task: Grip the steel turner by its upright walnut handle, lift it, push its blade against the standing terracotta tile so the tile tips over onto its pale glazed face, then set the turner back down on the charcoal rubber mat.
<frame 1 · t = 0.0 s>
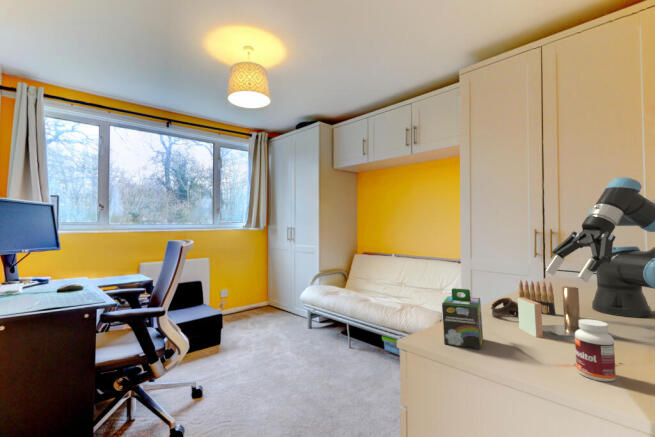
hand: (564, 276, 96), 15 cm above the cabinet, tool tilted 35°, fingers open, 13 cm apart
turner: (572, 331, 87), point 1 cm above the cabinet, touching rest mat
ammunition clip: (536, 315, 106), on the cabinet
tile: (530, 335, 87), on the cabinet
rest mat: (572, 334, 87), on the cabinet
pill bottle: (595, 376, 63), on the cabinet
brown sandal: (509, 319, 103), on the cabinet
chalk box: (463, 342, 83), on the cabinet
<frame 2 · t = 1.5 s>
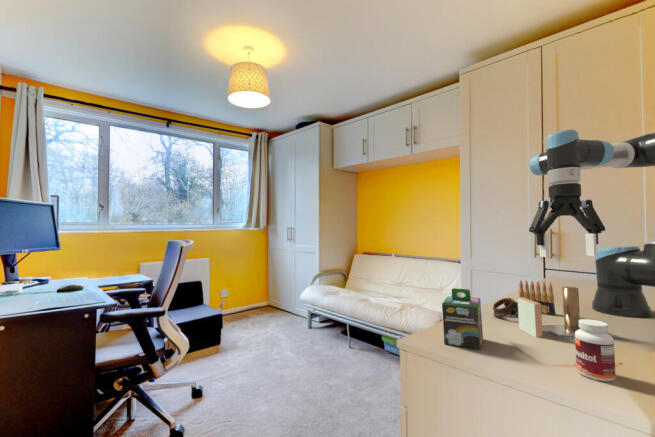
hand: (567, 256, 88), 22 cm above the cabinet, tool pointing down, fingers open, 13 cm apart
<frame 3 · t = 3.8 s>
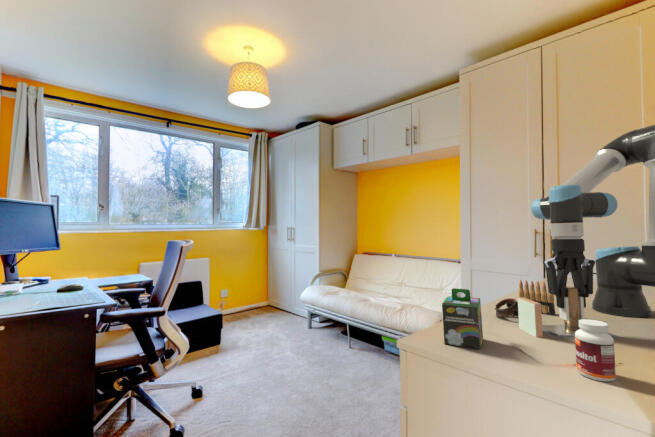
hand: (571, 318, 87), 4 cm above the cabinet, tool pointing down, fingers closed on turner, 4 cm apart
turner: (572, 331, 87), point 1 cm above the cabinet, touching gripper, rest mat
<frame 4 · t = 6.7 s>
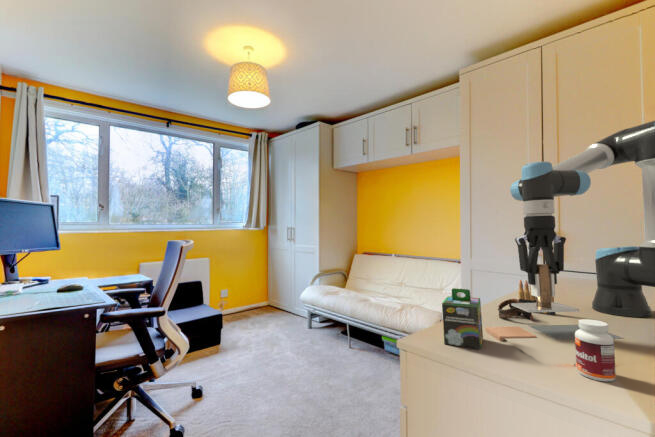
hand: (543, 295, 87), 11 cm above the cabinet, tool pointing down, fingers closed on turner, 4 cm apart
turner: (543, 308, 87), point 8 cm above the cabinet, touching gripper
tile: (526, 333, 87), on the cabinet, tilted 90°
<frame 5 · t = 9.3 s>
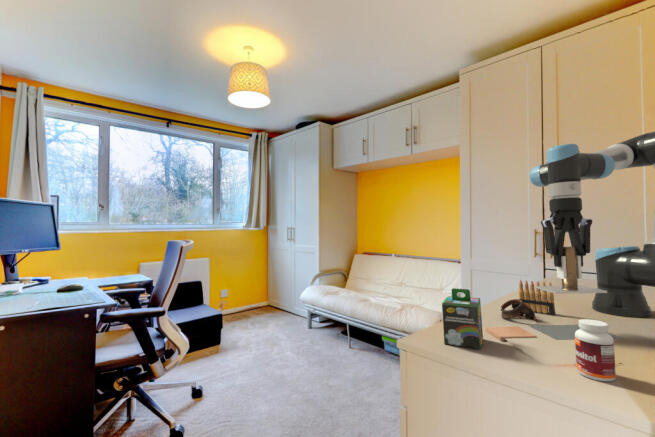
hand: (569, 278, 87), 16 cm above the cabinet, tool pointing down, fingers closed on turner, 4 cm apart
turner: (570, 290, 87), point 13 cm above the cabinet, touching gripper
when the fingers open (6 cm above the cabinet, at t = 11.2 s): turner drops 2 cm, resting on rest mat.
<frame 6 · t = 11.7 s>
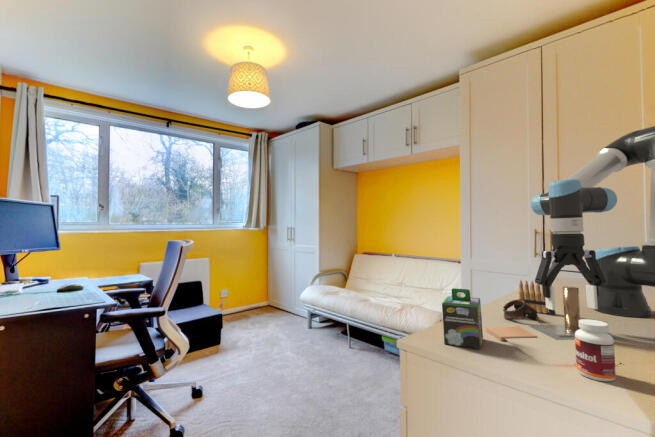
hand: (571, 308, 87), 7 cm above the cabinet, tool pointing down, fingers open, 11 cm apart
turner: (572, 331, 87), point 1 cm above the cabinet, touching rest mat
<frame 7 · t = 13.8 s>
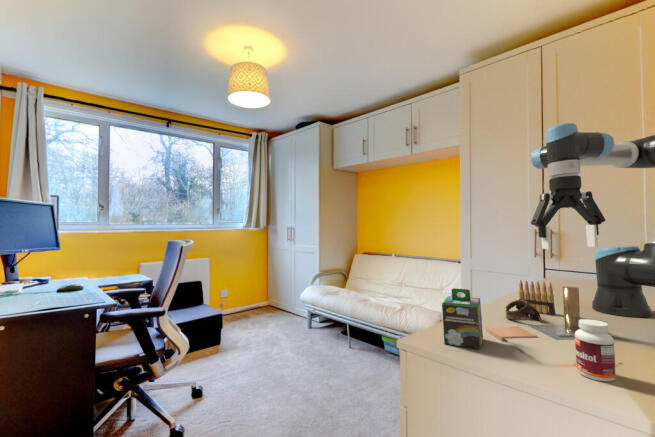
hand: (569, 247, 89), 25 cm above the cabinet, tool pointing down, fingers open, 13 cm apart
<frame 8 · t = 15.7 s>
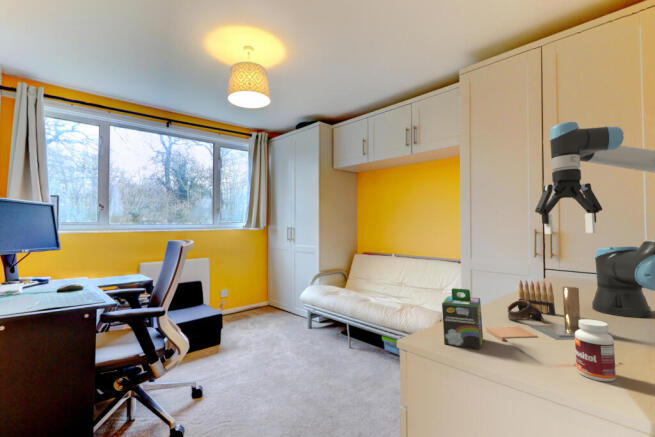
hand: (569, 233, 100), 29 cm above the cabinet, tool pointing down, fingers open, 13 cm apart
at the end: tile tilted 90°; turner inside the target area (0.1 cm from its centre), point 0.8 cm above the cabinet; turner tilted 0° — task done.
